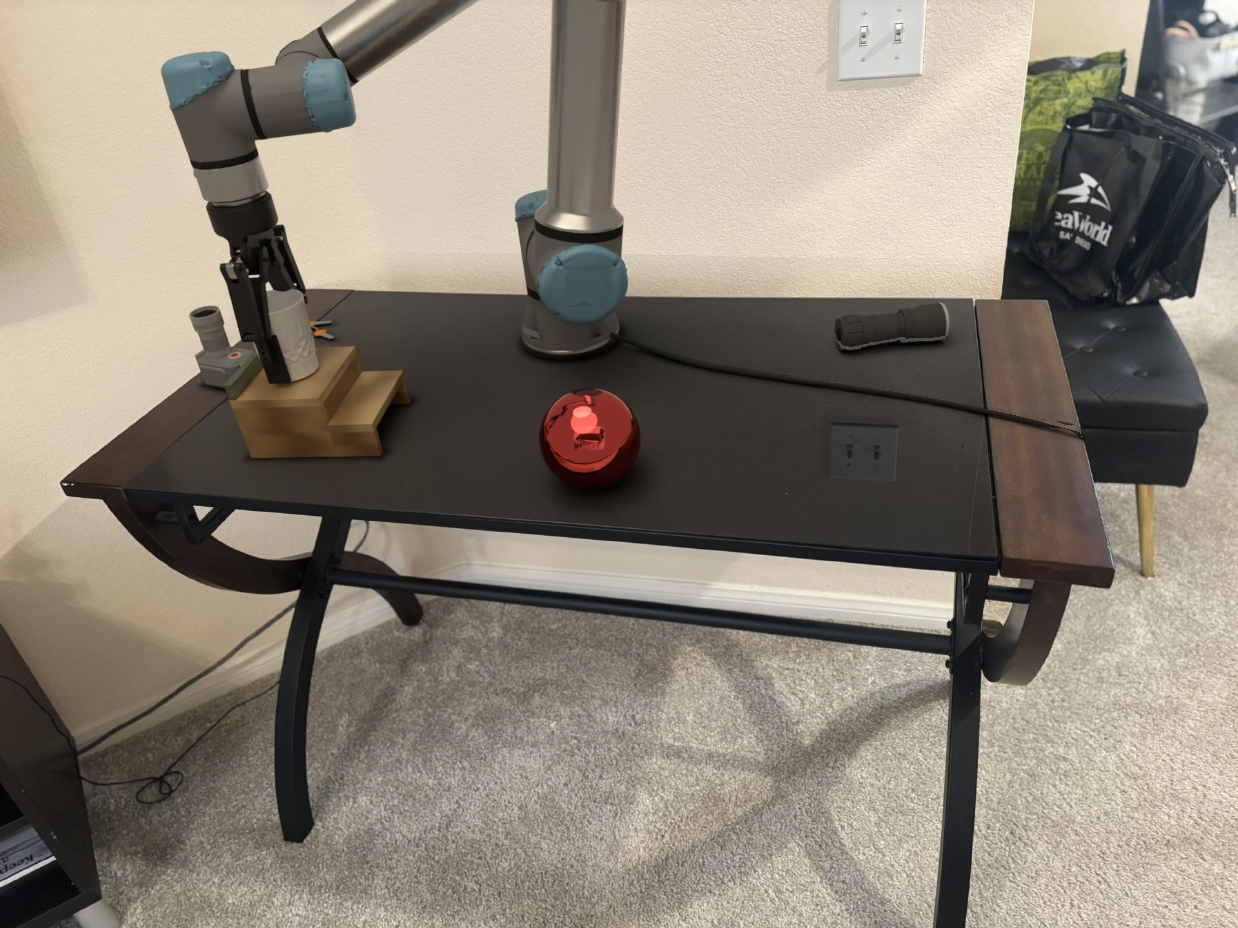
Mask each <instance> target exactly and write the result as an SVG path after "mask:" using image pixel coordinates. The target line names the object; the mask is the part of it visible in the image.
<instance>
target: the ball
mask: <svg viewBox="0 0 1238 928" xmlns="http://www.w3.org/2000/svg"><path fill="white" fill-rule="evenodd" d="M538 433H539V434H538V441H539V450H540V454H541V457H542V459H543V462H544V463H545V465H546V467H547V468H548V469H549V471H550V472H551V474H553V475H554V477H555V478H557V479H558V480H559V481H561V482H562V483H564V484H566V485H568V486H571V487H572V488H576V489H581V490H586V491H587V490H589V491H591V490H600V489H601V490H602V489H604V488H608V487H610V486H612V485H614V484H616V483H617V482H619V481H621V480H622V479H623V478H624V477H626V476H627V474H628V473H629V472H630V471H631V470H632V468H634V465H635V463H636V461H637V458H638V457H639V454H640V451H641V445H642V438H641V437H642V435H641V427H640V422H639V421H638V418H637V416H636V415H635V413H634V410H633V409H632V407H630V405H629V404H628V403H627V402H626V401H625V400H624V399H622V398H621V397H620V396H618V395H617V394H615V393H613V392H611V391H609V390H606V389H602V388H598V387H582V388H578V389H574V390H571V391H568V392H567V393H564V394H563V395H561V396H560V397H559V398H557V399H556V400H555V401H554V402H553V403H552V404H551V405H550V407H549V408H548V409H547V410H546V412H545V414H544V416H543V419H542V421H541V424H540V427H539V432H538Z"/></svg>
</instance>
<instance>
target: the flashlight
mask: <svg viewBox="0 0 1238 928" xmlns="http://www.w3.org/2000/svg"><path fill="white" fill-rule="evenodd" d="M946 306H947V305H945V303H943V302H936V303H927V304H920V305H917V306H914V307H912V308H910V307H907V308H900V309H899V310H897V312H896V313H894V312H890V313H889V312H888V313H881V314H874V313H873V314H868V315H866V314H862V315H859V314H857V313H851V314H846V315H844V314H843V315H841V317H837V318H836V319H835V323H834V335H835V334H836V338H837V340H838V341H840V342H841V344H842V345H843V346H849V347H852V346H853V347H854V346H859V345H863V344H868V343H870V342H876V341H877V342H879V341H883V340H890V339H895V338H898V337H905V338H906V339H909V338H934V337H941V336H948V337H949V333H950V316H949V312H948V309H947V307H946ZM946 340H947V338H946V339H944V338H943V339H942V340H934V341H917V342H916V343H919V342H920V343H919V344H922V343H921V342H924V343H923V344H927V343H933V342H935V343H936V342H943V341H946ZM835 343H836V347H837V348H838V350H839V351H845V352H846V351H847V352H855V351H860V350H861V349H863V347H862V348H861V349H855V350H854V349H853V350H847V349H841V347H840V345H839V344H838V342H837V341H836V340H835ZM885 344H886V343H884V344H883V345H885ZM869 347H870V345H869V346H867V347H866V348H869Z"/></svg>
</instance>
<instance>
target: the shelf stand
mask: <svg viewBox="0 0 1238 928" xmlns="http://www.w3.org/2000/svg"><path fill="white" fill-rule="evenodd" d="M315 350H316V354H317V358H318V363H319V367H318V368H317V370H316V371H315V372H314V373H312V374H311V375H309V376H307V377H305V378H302V379H299V380H296V381H291V382H290V383H282V384H269V382H268V379H267V376H266V373H265V371H264V368H263V365H262V362H261V360H260V358H259V356H258V354H257V352H256V349H255V350H253V351H254V352H253V353H252V354H251V355H250V356H249V357H248V359H247V360H246V361H245V362H244V363H243V364H242V365H241V367H240V368H239V369H238V370H237V371H236V372H235V373H234V374H233V376H232V377H231V378H230V379H229V380H228V381H227V382H226V383H225V385H224V388H223V389H224V390H225V393H226V395H227V398H228V401H229V404H230V406H231V409H232V411H233V414H234V417H235V419H236V422H237V424H238V427H239V430H240V433H241V435H242V438H243V440H244V443H245V445H246V448H247V450H248V453H249V456H250V458H251V459H279V458H280V459H284V458H335V457H336V458H342V457H343V458H345V457H346V458H347V457H381V456H382V454H383V453H384V450H383V446H382V443H381V440H380V439H381V438H380V436H379V432H378V429H377V427H378V425H379V424H380V422H381V420H382V418H383V417H384V415H385V413H386V411H387V409H388V408H389V407H390V406H394V405H395V406H396V405H409V404H410V403H411V397H410V393H409V390H408V386H407V381H406V377H405V374H404V373H405V372H404V370H401V369H400V370H399V369H398V370H370V371H368V370H367V371H365V370H364V371H363V370H362V367H361V363H360V360H359V356H358V353H357V350H356V346H355V345H353V346H352V345H350V346H323V347H322V346H321V347H318V346H317V347H315Z"/></svg>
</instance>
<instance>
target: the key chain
mask: <svg viewBox="0 0 1238 928" xmlns="http://www.w3.org/2000/svg"><path fill="white" fill-rule="evenodd" d="M309 321H310V324H311V329H315V330H316V331H314V333H313V336H315V337H323V338H324V339H325V338H326V339H328V340H332V339H334V338H335V335H331V334H329V333H328V330H326V329H319V328H318V327H316V326H317V325H318V326H319V325H326V324H327V325H329V324H332V323H333V321H332V320H322V321H315V320H309Z"/></svg>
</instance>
